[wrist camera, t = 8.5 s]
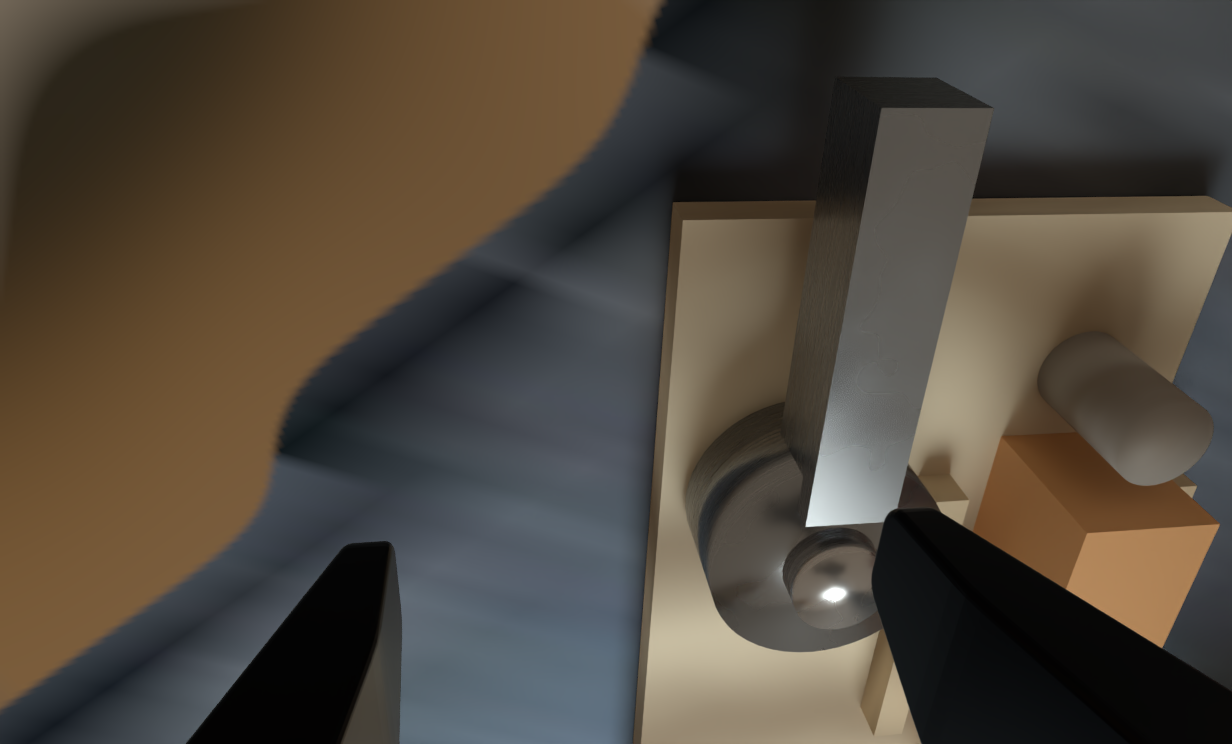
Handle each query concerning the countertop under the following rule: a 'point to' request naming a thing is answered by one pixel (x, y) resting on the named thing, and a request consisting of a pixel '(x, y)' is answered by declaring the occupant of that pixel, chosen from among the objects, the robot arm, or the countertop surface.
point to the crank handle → (845, 373)
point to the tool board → (947, 427)
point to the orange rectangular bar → (1095, 529)
